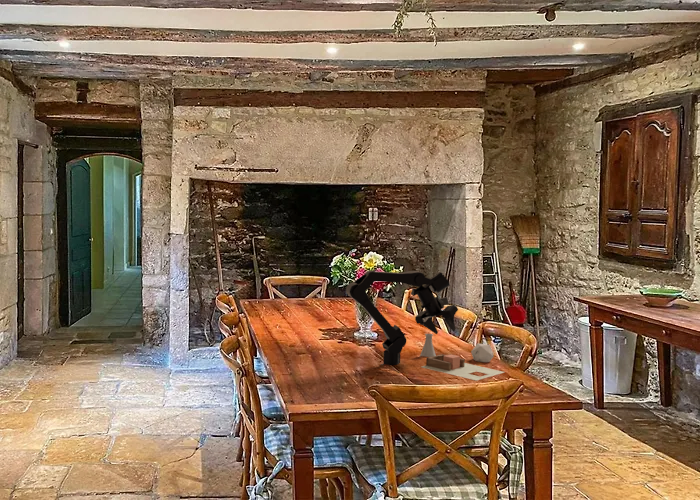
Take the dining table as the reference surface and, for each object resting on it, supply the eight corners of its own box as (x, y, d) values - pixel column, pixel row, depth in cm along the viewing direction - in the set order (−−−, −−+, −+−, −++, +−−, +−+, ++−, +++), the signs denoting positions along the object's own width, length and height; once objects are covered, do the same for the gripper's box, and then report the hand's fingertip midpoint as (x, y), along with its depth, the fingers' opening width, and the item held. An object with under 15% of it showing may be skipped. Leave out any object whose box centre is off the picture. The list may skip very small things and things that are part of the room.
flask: (438, 356, 295) (438, 333, 294) (435, 360, 288) (436, 336, 287) (421, 355, 297) (421, 332, 296) (418, 359, 290) (418, 335, 289)
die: (469, 361, 290) (466, 346, 284) (485, 350, 292) (482, 335, 286) (482, 373, 283) (478, 357, 278) (498, 361, 286) (495, 345, 280)
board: (476, 383, 253) (476, 380, 253) (420, 369, 271) (420, 366, 271) (505, 375, 266) (505, 372, 266) (450, 362, 285) (450, 359, 285)
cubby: (448, 370, 266) (449, 363, 266) (426, 365, 274) (426, 357, 274) (464, 366, 273) (464, 359, 273) (441, 361, 281) (442, 354, 281)
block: (452, 369, 268) (452, 358, 268) (443, 367, 271) (443, 355, 271) (459, 367, 271) (459, 356, 271) (450, 365, 274) (450, 354, 274)
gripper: (455, 284, 276) (473, 318, 279) (421, 292, 289) (438, 324, 292) (441, 299, 268) (460, 333, 271) (406, 306, 282) (424, 339, 285)
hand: (445, 332), depth 280 cm, fingers open, 9 cm apart
